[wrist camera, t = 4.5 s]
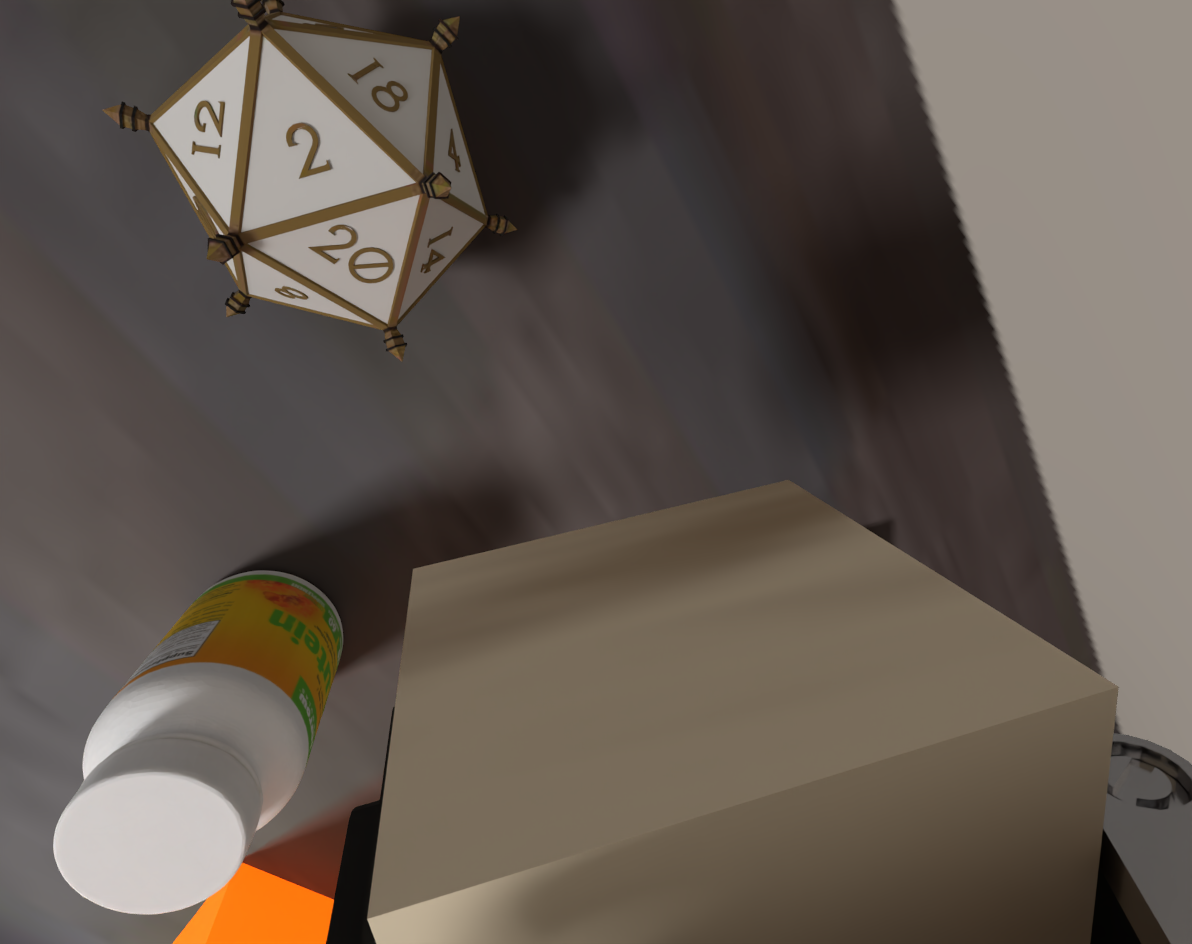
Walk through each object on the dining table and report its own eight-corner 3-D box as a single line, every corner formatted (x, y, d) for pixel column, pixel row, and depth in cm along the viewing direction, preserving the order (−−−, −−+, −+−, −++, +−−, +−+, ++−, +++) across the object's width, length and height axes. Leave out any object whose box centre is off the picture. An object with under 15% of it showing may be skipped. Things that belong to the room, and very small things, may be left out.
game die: (425, 200, 25) (630, 224, 19) (266, 368, 22) (443, 456, 16) (236, -78, 18) (462, -178, 12) (-19, 120, 16) (105, 117, 10)
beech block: (413, 568, 10) (367, 919, 5) (788, 480, 11) (1118, 686, 6) (497, 869, 12) (536, 1361, 7) (810, 773, 13) (1068, 1138, 8)
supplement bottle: (373, 654, 25) (326, 863, 16) (245, 723, 25) (122, 977, 16) (291, 539, 23) (185, 701, 14) (152, 613, 23) (-47, 826, 14)
